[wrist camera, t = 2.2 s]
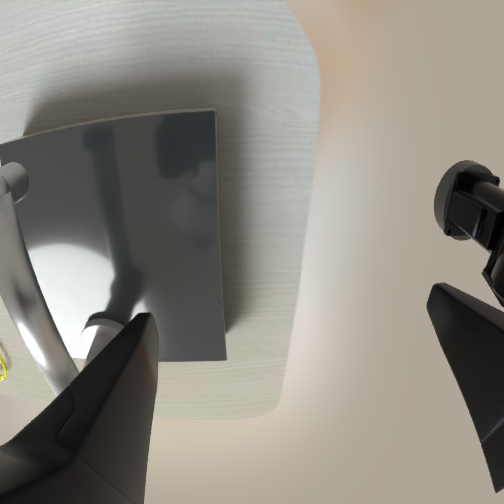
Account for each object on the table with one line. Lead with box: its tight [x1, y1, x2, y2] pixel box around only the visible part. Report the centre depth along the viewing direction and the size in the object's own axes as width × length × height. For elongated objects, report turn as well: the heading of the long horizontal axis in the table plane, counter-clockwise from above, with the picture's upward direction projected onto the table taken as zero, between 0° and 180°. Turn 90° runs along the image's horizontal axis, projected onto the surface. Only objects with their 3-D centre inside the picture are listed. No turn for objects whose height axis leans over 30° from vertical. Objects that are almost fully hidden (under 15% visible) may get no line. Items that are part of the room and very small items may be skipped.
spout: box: [0, 162, 79, 396], centre depth 13 cm, size 17×3×4 cm, turn 0°
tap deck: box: [0, 108, 227, 370], centre depth 18 cm, size 14×18×9 cm
